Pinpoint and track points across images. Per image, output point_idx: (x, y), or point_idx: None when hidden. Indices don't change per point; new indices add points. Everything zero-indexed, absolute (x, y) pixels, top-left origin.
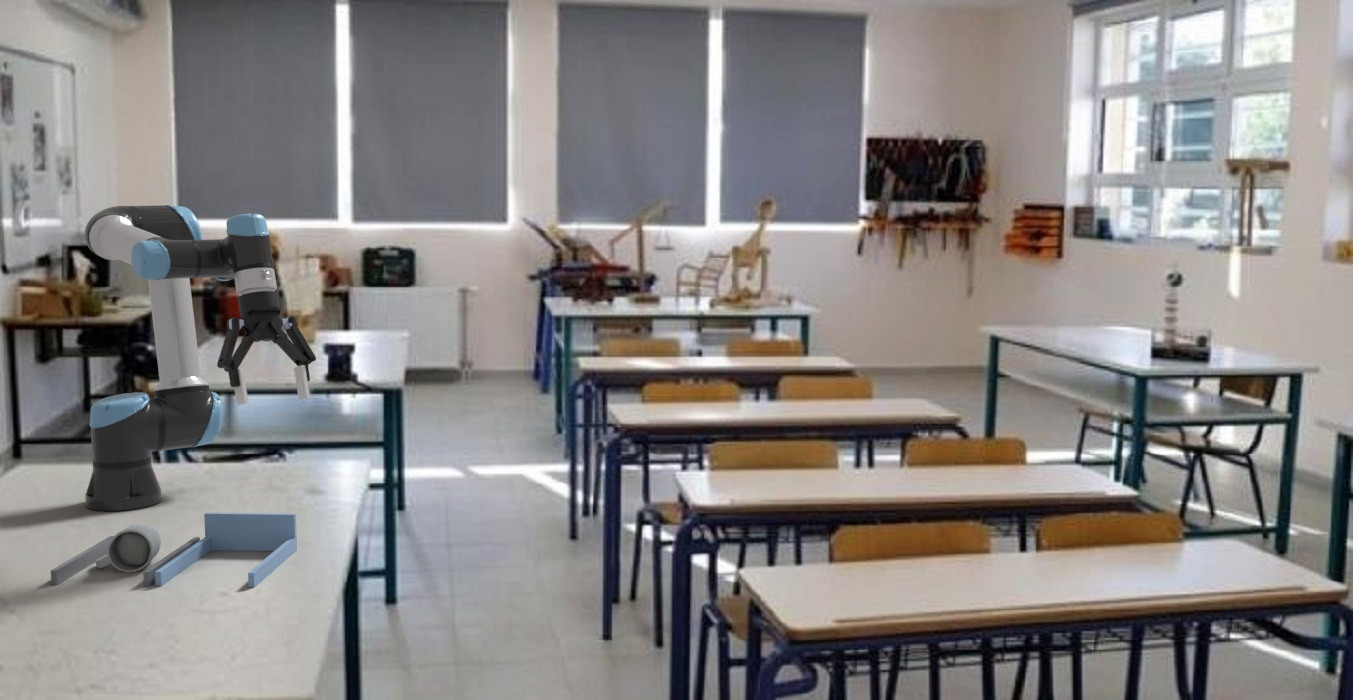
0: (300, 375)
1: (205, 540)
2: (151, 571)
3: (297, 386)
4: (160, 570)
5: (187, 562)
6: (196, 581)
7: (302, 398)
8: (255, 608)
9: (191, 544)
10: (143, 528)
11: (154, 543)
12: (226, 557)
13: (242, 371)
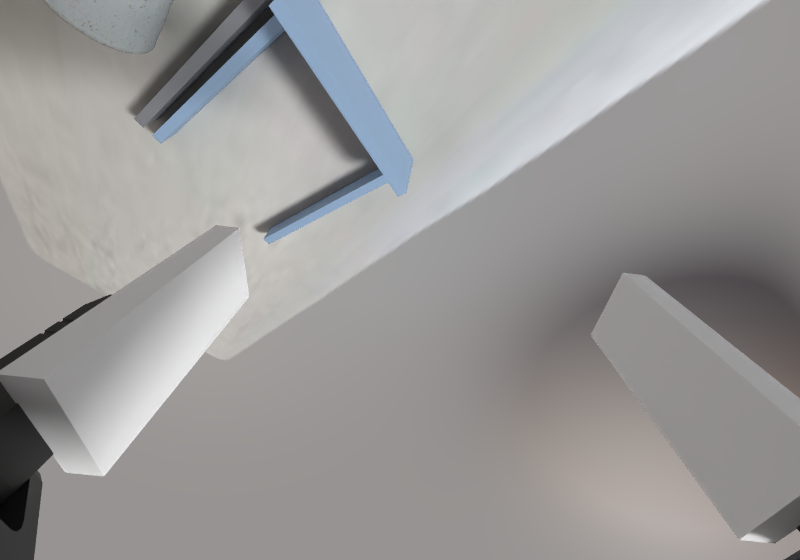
0: (694, 430)
1: (280, 28)
2: (148, 122)
3: (675, 330)
4: (161, 136)
5: (228, 82)
6: (224, 157)
7: (608, 306)
8: (250, 273)
9: (250, 17)
10: (100, 4)
11: (147, 36)
12: (309, 88)
13: (112, 449)
